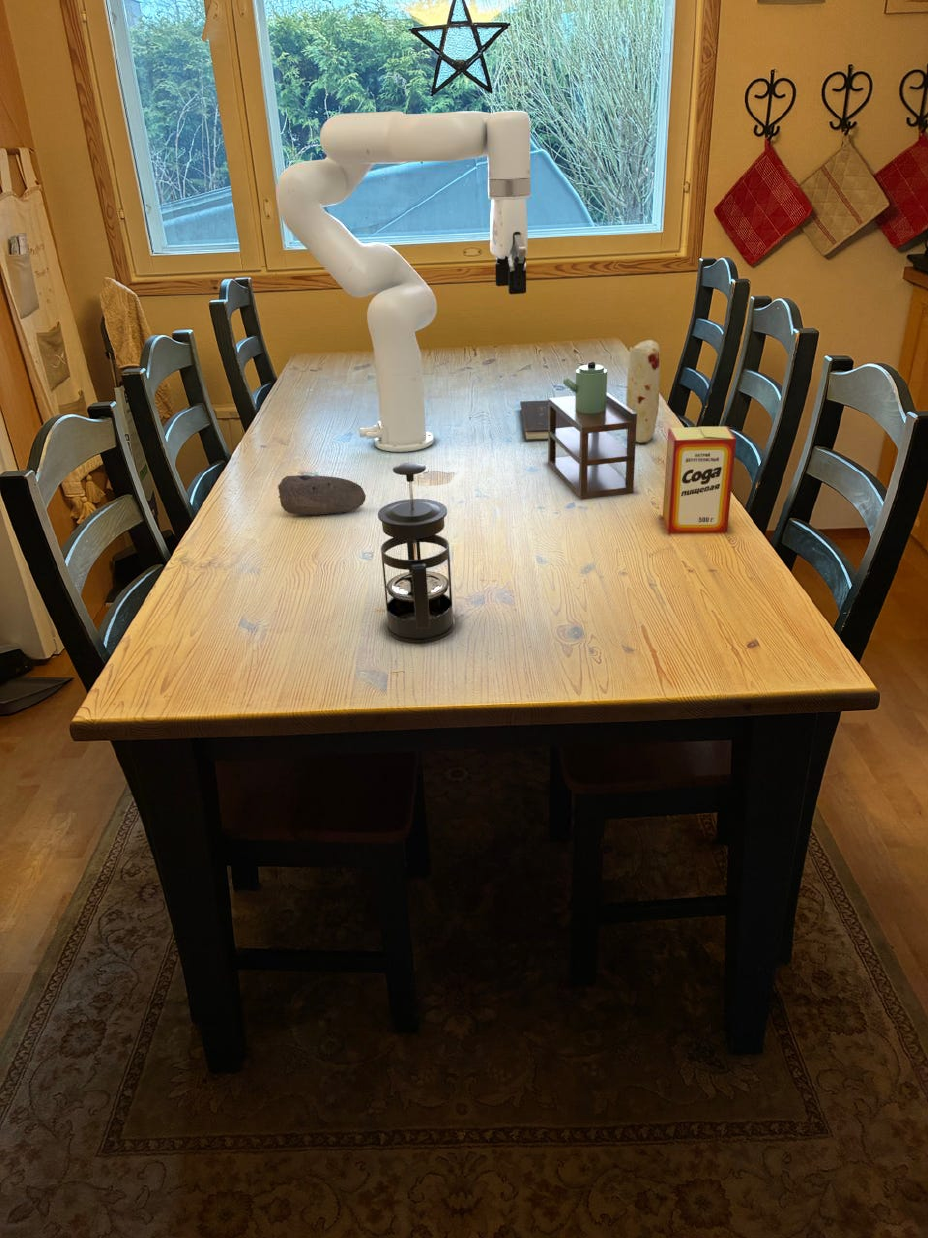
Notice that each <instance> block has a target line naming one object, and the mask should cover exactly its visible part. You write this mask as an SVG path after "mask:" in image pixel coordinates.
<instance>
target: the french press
mask: <svg viewBox="0 0 928 1238" xmlns="http://www.w3.org/2000/svg"><path fill="white" fill-rule="evenodd" d="M426 469H427V467H426V465H425V464H422V463H419V462H404V463H399V464H397V465H395V466H394V467H393V468H392V472H393V473H395V474H396V475H402V476H405V478H406V482H408V488H409V498H408V499H402V500H397V501H394V502H391V503H388V504H385V505H384V506H382V507H381V508H380V509H379V510H378V511H377V518H378V520H379V521H380V522H381V527H382V529H381V530H382V532H383V533H384V534H385V535H387V536H388V537H391V538H389V539H387V540H385V541H384V542H383V543H382V545H381V547H380V553H381V565H382V574H383V586H384V600H385V608H386V619H387V622H386V627H385V628H386V632H387V634H388V635H389V636H390V637H392V638H393V639H395V640H397V641H400V642H404V643H408V644H409V643H411V644H424V643H430V642H431V643H432V642H434V641H438V640H441V639H444V638H445V637H448V636H449V635H450V634H451V633H452V632H453V631H454V629H455V627H456V620H455V618H454V615H453V613H454V611H453V591H452V576H451V575H452V574H451V573H452V572H451V555H450V543H449V541H448V540H447V539H446V538H445V537H443V536H441V535H439V533H441V532H442V531H443V530H444V529H445V517H447V515H448V508H447V506H446V505H445V504H444V503H442V502H439V501H436V500H432V499H427V498H426V499H425V498H414V494H413V492H414V491H413V482H414V481H415V477H414V475H418V474H421V473H423V472H425V471H426ZM421 543H428V544H434V545H438V546H441V547H442V548H444V549H445V550H444V551H442V552H441V553H439V554H437V555H433V556H430V557H427V558H422V557H421V555H422V553H421ZM405 544H406V548H407V549H406V551H407V559H401V558H396V557H392V556H390V555H388V554H386V553H387V552H388V551H389V550H391V549H392V548H395V547H397V546H401V545H405ZM444 562H446V563H447V577H446V576H445V575H443V574H442V573H439V572H435V571H428V570H427V569H430V568H434V567H436V566H439V565H441V564H443V563H444ZM386 565H387V566H388V567H391V568H394V569H398V570H405V571H408V572H404V573H401V574H398V575H396V576H393V577H391V578H390V579H389V580H388V581H387V578H386V567H385V566H386ZM447 591H448V595H447V594H445V593H446V592H447ZM388 594H389V596H390V597H392V598H391V599H389V600H388ZM413 614H414V619H409V618H408V619H407V618H404V617H406V616H407V617H408V616H410V615H413ZM430 614H433V615H437V616H434V617H431V616H430Z"/></svg>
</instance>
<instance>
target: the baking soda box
mask: <svg viewBox="0 0 928 1238" xmlns="http://www.w3.org/2000/svg"><path fill="white" fill-rule="evenodd" d="M736 446H737V437H736V435H734V432H733V431H732V430H731V429H730V427H729V426H727V425H726V426H724V425H723V426H695V427H694V426H691V427H690V426H689V427H688V426H687V427H668V428H667V447H666V459H665V460H666V461H665V462H666V463H665V475H664V476H665V477H664V491H663V505H662V506H663V508H662V520H663V523H664V526H665V529H666V531H667V534H699V533H700V534H702V533H703V534H704V533H705V534H706V533H707V534H708V533H728V528H729V518H730V506H731V497H732V486H733V477H734V466H735V458H736V457H735V456H736Z"/></svg>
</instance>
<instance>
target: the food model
mask: <svg viewBox="0 0 928 1238" xmlns="http://www.w3.org/2000/svg"><path fill="white" fill-rule="evenodd" d="M627 363H628V367H627V380H626V394H625V395H626V396H625V397H626V399H625V401H626V402H625V403H626V404H625V405H626V406H627V407H628V408H630V409H631V410H633V411H634V412H635V413H637V421H636V422H637V426H636V443H638V444H642V443H647V442H649V441H650V440H651V439H653V436H654V434H655V432H656V424H657V419H658V414H659V408H660V407H659V406H660V384H661V382H660V381H661V351H660V345H659V344H658V342H656V341H654V340H653V339H646V340H644V341H640V342H639V343H638V344H636V345H634V347H632V346H631V347H630V348H629V353H628V362H627ZM627 434H628V429H625V436H627Z"/></svg>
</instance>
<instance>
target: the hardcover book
mask: <svg viewBox="0 0 928 1238" xmlns="http://www.w3.org/2000/svg"><path fill="white" fill-rule="evenodd" d="M519 404H520V410H519V411H520V418H521V425H522V431H523V439H524V442H545V441H546V442H548V405H549V404H548V399H547V400H546V399H545V400H523V401H522V400H521V401H520V402H519ZM566 427H574V426H573V425H571V424H570V423H569V422H568V421H567V420H566V419H565V418H563V417H562V416H561V415H560V414H559V413H558V412H557V411H556V429H557V428H566Z"/></svg>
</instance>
